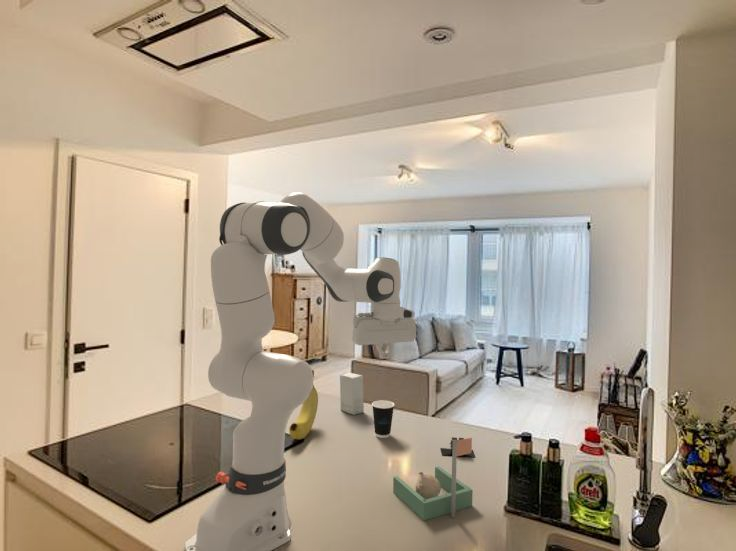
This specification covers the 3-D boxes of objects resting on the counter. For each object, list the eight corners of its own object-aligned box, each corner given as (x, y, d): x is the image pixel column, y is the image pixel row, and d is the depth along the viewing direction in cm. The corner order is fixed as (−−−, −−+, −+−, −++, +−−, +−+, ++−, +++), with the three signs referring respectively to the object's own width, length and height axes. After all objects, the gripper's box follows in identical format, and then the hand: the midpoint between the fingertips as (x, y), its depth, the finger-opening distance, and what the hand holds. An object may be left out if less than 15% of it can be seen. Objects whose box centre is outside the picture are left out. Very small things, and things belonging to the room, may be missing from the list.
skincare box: (363, 412, 172) (364, 375, 172) (352, 415, 168) (353, 377, 168) (350, 407, 178) (350, 371, 178) (338, 410, 174) (339, 373, 174)
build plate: (476, 451, 139) (477, 436, 139) (481, 462, 131) (481, 446, 131) (436, 448, 140) (436, 433, 140) (437, 459, 132) (438, 443, 132)
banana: (301, 448, 137) (302, 385, 137) (284, 446, 138) (285, 384, 138) (320, 422, 159) (321, 369, 159) (305, 421, 160) (306, 368, 160)
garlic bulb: (411, 493, 111) (412, 462, 111) (434, 491, 112) (435, 460, 112) (420, 507, 104) (421, 475, 104) (444, 504, 106) (445, 472, 105)
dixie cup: (383, 429, 154) (384, 398, 154) (398, 436, 148) (399, 404, 148) (366, 434, 149) (367, 402, 149) (381, 441, 143) (382, 409, 143)
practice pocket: (393, 492, 111) (394, 423, 111) (438, 480, 118) (439, 415, 117) (428, 525, 97) (430, 446, 97) (478, 510, 103) (479, 436, 103)
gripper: (358, 314, 121) (357, 363, 121) (419, 312, 130) (418, 357, 130) (349, 311, 126) (348, 358, 127) (408, 310, 136) (407, 353, 136)
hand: (384, 358), depth 129 cm, fingers closed
